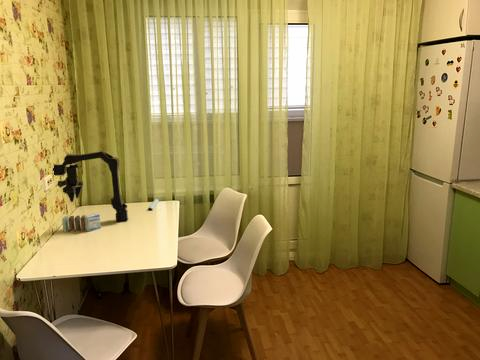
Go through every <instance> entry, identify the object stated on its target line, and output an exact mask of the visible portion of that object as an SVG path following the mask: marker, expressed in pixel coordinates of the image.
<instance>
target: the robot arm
mask: <svg viewBox="0 0 480 360" xmlns="http://www.w3.org/2000/svg"><path fill="white" fill-rule="evenodd" d="M94 159H101V160H102V161H103V162H104V163H106V164H107V165H108V169H109V171H110V173H111V182H112V183H111V185H112V197H110V202H111V204H110V205H111V207H112V209H113V210H115V212H116V213H115V220H116V221H115V222H116V223H122V222H127V221H128V220H129V215H128V205H127V204H126V203H125V202H124V199H123V197H122V194H121V187H120V177H119V170H120V163H121V162H120V159H119V158H118V157H116V156H113V155H111V154H109V153H107V152H106V151H104V150H100V151H95V152H89V153H88V152H87V153H80V154H79V153H68V154H66V155H65V156H64V158H63V162H62V164H56V163H55V164H53V165H54V168H53V167H52V171H54V175H55V176H58V177H59V176H65V174H66V177H65V179H64V180H62V179H61V180H58V181H57V183H56V184H57V185H56V186H57V187H59V188H62V193H64V194H66V195H67V197H68V199H69V201H70V202H71V203H73V202H74V200H75V198H76V199H79V197H80V194H81V192H82V189H83V187H84V182H83V181H82V180H79V175H78V171H77V169H78V168H80V166H81V165H79V164H78V163H80V162H82V161H89V160H94ZM54 175H53V176H54ZM55 176H54V177H55Z"/></svg>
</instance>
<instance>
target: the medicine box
mask: <svg viewBox="0 0 480 360" xmlns="http://www.w3.org/2000/svg"><path fill="white" fill-rule="evenodd" d="M84 224H85V231H86V232H93V231H96V230H98V229H101V228H102V227H101V226H102V225H101V215H100V214H99V213H92V214H88V215H86V216H84Z"/></svg>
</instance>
